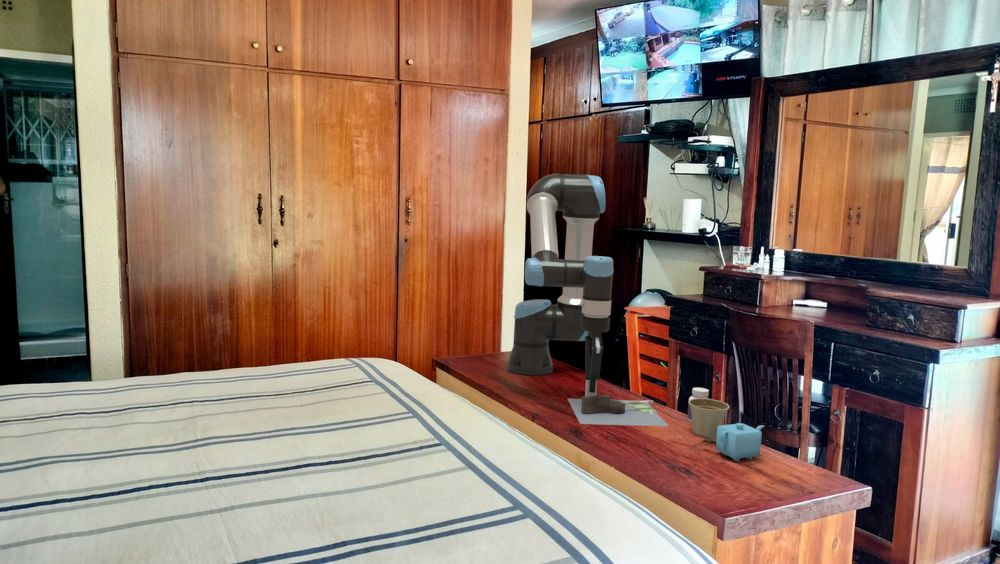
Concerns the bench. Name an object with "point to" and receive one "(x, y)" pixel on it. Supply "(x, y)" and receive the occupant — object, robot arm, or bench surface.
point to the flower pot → (707, 417)
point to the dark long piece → (606, 404)
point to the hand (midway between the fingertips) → (590, 402)
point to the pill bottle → (696, 394)
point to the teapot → (739, 441)
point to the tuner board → (619, 415)
